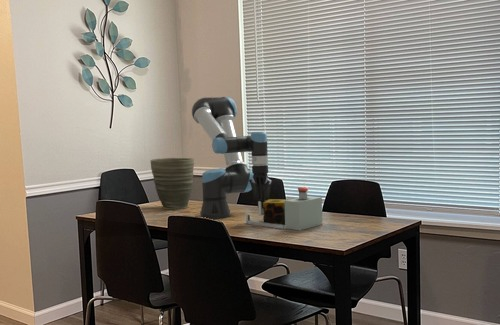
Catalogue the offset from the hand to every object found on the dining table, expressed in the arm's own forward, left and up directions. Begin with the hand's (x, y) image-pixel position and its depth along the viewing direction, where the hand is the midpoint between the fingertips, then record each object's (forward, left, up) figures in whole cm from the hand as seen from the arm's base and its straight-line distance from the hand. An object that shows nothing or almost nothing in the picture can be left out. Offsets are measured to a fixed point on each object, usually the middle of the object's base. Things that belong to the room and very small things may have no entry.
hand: (261, 215), depth 265 cm
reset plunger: (+25, 0, +6) cm, 26 cm away
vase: (-68, +2, -3) cm, 68 cm away
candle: (+9, 0, -3) cm, 9 cm away
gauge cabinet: (+25, 0, -3) cm, 25 cm away
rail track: (+10, 0, -3) cm, 10 cm away
